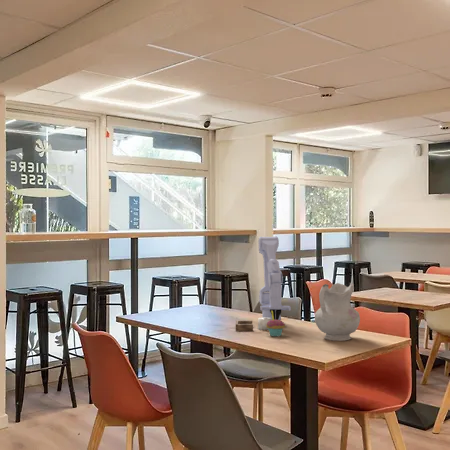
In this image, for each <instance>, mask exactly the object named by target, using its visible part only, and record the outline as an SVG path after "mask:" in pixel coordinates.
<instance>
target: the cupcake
mask: <svg viewBox="0 0 450 450" xmlns="http://www.w3.org/2000/svg"><path fill="white" fill-rule="evenodd" d="M271 310H272V309H271ZM271 312H272V320H270V321H268V322H267V324H266V327H267V328H268V329H269V330H268V332H269V334H270V336H271V337H281V335H282V334H283V333H282V332H283V329H286V325H285V324H286V323H285V322H283V321H282V319H281V320H276V319H275V320H274V316H273V311H271Z"/></svg>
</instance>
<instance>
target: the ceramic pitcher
mask: <svg viewBox="0 0 450 450" xmlns="http://www.w3.org/2000/svg"><path fill="white" fill-rule="evenodd" d="M354 285H355V284H354V283H352V282H349V286H346V285H345V284H342V283H340V282H337V283H334V284H332V285H331V287H330V288H329V286H330V285H329V284H328V283H326V284H325V283H324V284H323V285H322V286H321V288H320V291H319V294H318V298H319V304H320V305H319V306H320V307H319V308H318V309H317V310H316V311H315V314H314V322H315V324H316V327H317V329H318V330H319V331H321V332H322V333H324V334H325V335H324V339H325V340H328V341H333V342H337V341H338V342H345V341H349V340H352V339H353V338H352V337H351V336H350V335H352V334H353V333H355V332H356V330H357V329H358V328H359V326H360V322H361V317H360V312H359V311H357V310H356V309H355V308H354V307H353V306H352V304H351V298H352V295H353V292H354V288H355V287H354Z"/></svg>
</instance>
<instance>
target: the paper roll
mask: <svg viewBox="0 0 450 450" xmlns="http://www.w3.org/2000/svg"><path fill="white" fill-rule="evenodd" d="M270 320H272V318H269V317H262V316H261V317H258V318H257V330H260V331H269V329H268V328H267V327H266V324H267V322H268V321H270Z"/></svg>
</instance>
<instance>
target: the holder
mask: <svg viewBox="0 0 450 450" xmlns="http://www.w3.org/2000/svg"><path fill="white" fill-rule="evenodd" d="M235 331H236V332H253V331H254V324H253V320H235Z"/></svg>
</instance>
